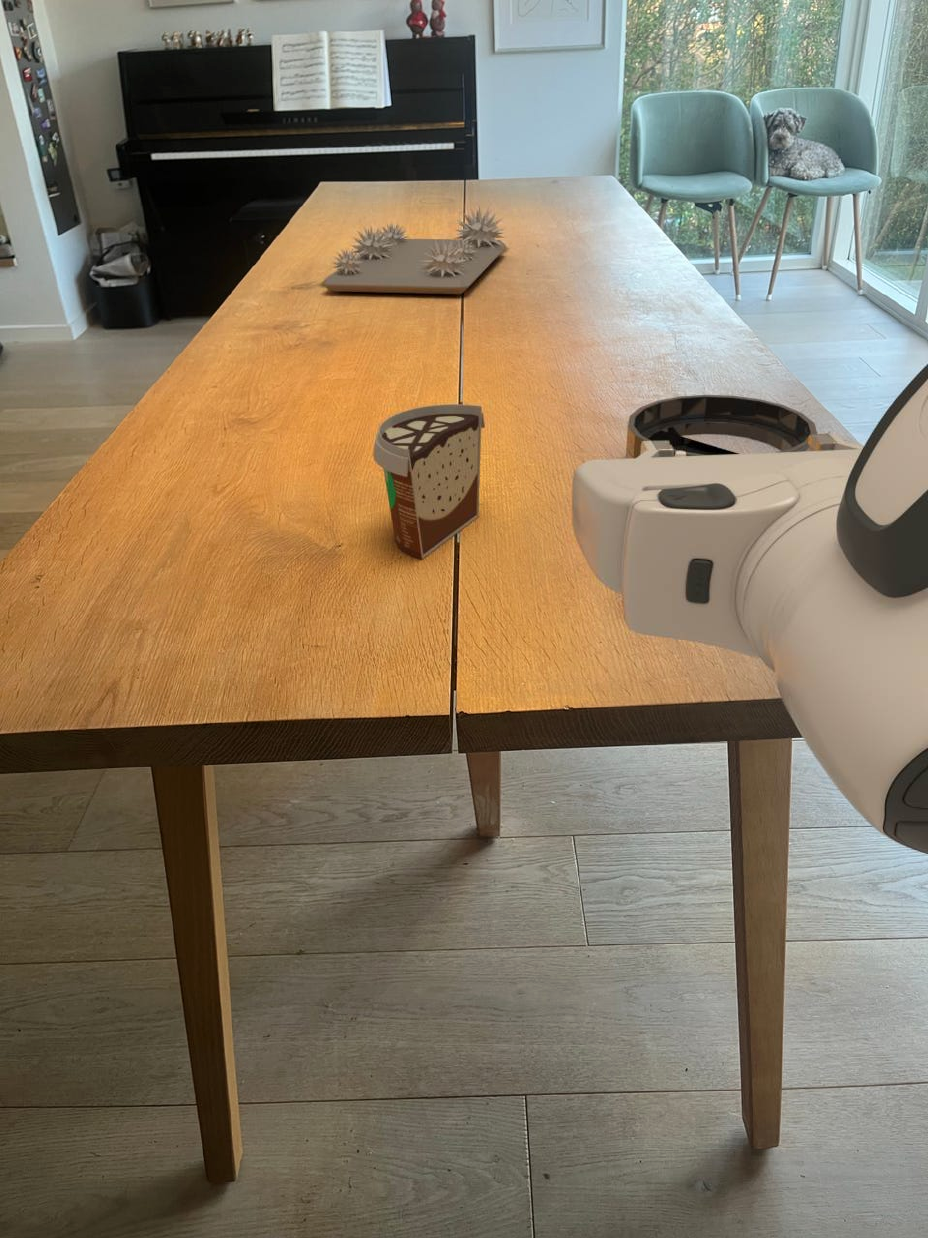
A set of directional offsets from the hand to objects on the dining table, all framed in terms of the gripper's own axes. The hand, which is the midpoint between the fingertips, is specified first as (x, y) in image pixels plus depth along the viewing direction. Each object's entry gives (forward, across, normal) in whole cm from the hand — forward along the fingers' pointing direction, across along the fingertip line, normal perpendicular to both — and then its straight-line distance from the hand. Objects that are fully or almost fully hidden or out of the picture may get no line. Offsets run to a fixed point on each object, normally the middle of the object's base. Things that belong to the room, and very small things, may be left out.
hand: (736, 449), depth 55 cm
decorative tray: (+132, +18, +17) cm, 134 cm away
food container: (+27, +18, +17) cm, 37 cm away
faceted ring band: (+36, -10, +17) cm, 41 cm away
